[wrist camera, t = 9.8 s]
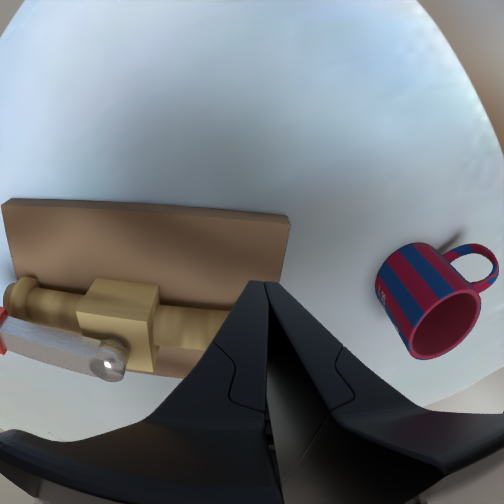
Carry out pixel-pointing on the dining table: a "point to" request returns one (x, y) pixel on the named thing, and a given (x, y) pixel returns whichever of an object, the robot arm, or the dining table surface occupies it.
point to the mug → (431, 297)
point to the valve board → (137, 272)
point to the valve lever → (63, 348)
